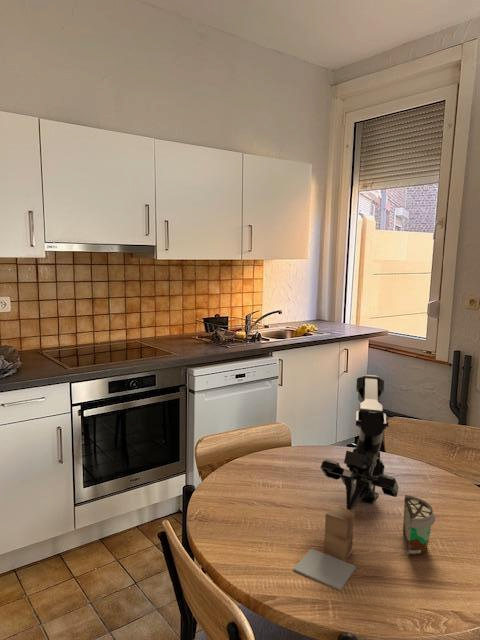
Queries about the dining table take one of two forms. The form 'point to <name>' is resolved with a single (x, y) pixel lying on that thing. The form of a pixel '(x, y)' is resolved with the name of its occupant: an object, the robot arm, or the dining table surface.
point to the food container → (417, 525)
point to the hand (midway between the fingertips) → (348, 509)
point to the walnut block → (338, 532)
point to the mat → (325, 569)
